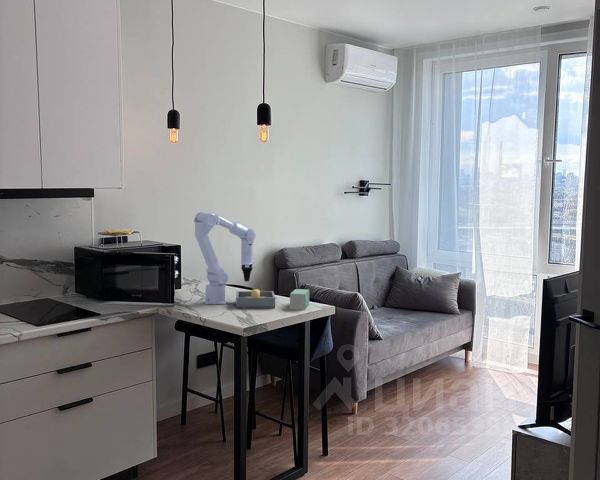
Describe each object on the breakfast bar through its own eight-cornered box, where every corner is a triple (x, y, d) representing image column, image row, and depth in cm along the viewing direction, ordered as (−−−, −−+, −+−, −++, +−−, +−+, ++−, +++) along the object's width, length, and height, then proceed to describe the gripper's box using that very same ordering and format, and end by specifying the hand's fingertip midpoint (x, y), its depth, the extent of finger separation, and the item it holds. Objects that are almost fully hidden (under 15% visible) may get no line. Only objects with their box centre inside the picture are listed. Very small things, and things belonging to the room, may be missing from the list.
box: (309, 304, 292) (309, 288, 291) (305, 310, 279) (305, 294, 278) (294, 303, 293) (294, 288, 292) (289, 309, 280) (289, 293, 279)
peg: (251, 303, 285) (251, 291, 285) (251, 301, 289) (251, 289, 289) (259, 303, 286) (260, 290, 285) (259, 301, 290) (259, 289, 289)
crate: (236, 308, 279) (236, 297, 278) (236, 301, 295) (236, 291, 294) (275, 308, 281) (275, 297, 280) (273, 301, 297) (273, 291, 296)
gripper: (255, 254, 293) (255, 282, 294) (254, 251, 307) (254, 277, 309) (240, 254, 292) (240, 282, 294) (240, 250, 307) (240, 277, 308)
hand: (246, 279), depth 301 cm, fingers open, 7 cm apart
